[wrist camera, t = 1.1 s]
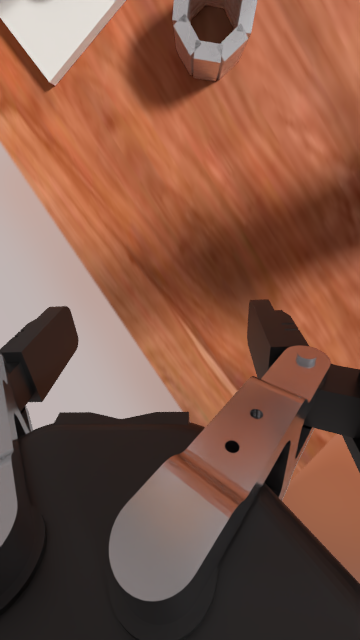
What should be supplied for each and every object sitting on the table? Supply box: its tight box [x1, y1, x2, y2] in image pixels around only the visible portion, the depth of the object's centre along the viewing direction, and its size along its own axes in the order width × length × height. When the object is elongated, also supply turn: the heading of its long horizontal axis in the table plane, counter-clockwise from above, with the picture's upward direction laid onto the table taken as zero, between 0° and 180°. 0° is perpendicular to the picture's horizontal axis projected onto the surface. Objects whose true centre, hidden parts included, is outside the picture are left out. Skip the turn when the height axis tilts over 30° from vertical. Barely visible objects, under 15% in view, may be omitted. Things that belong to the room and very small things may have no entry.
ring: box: [172, 0, 257, 81], centre depth 21 cm, size 6×6×5 cm
